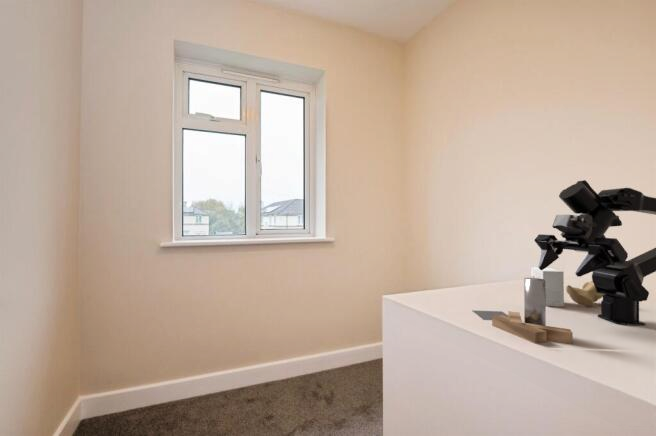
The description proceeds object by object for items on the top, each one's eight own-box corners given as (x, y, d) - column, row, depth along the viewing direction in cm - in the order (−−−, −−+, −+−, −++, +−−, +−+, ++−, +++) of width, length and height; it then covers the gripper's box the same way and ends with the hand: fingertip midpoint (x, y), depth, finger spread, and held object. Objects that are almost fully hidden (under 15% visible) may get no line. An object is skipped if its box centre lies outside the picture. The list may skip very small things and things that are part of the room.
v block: (513, 320, 78) (513, 310, 78) (578, 344, 63) (578, 332, 63) (484, 323, 75) (484, 313, 75) (545, 349, 60) (545, 336, 60)
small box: (564, 307, 90) (564, 271, 90) (542, 306, 91) (543, 270, 91) (550, 300, 98) (550, 267, 98) (530, 299, 99) (530, 266, 99)
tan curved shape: (562, 283, 95) (591, 271, 98) (561, 302, 98) (589, 290, 100) (591, 297, 88) (621, 283, 90) (588, 317, 90) (618, 303, 93)
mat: (501, 312, 85) (501, 311, 85) (517, 322, 77) (517, 320, 77) (471, 311, 85) (471, 310, 85) (483, 320, 77) (483, 319, 77)
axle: (533, 328, 72) (532, 277, 72) (550, 334, 68) (549, 280, 69) (520, 330, 71) (520, 278, 71) (536, 336, 67) (536, 281, 67)
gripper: (540, 205, 85) (507, 245, 82) (618, 201, 67) (580, 253, 64) (561, 233, 87) (530, 273, 84) (644, 237, 69) (607, 289, 66)
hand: (557, 271), depth 75 cm, fingers open, 9 cm apart
